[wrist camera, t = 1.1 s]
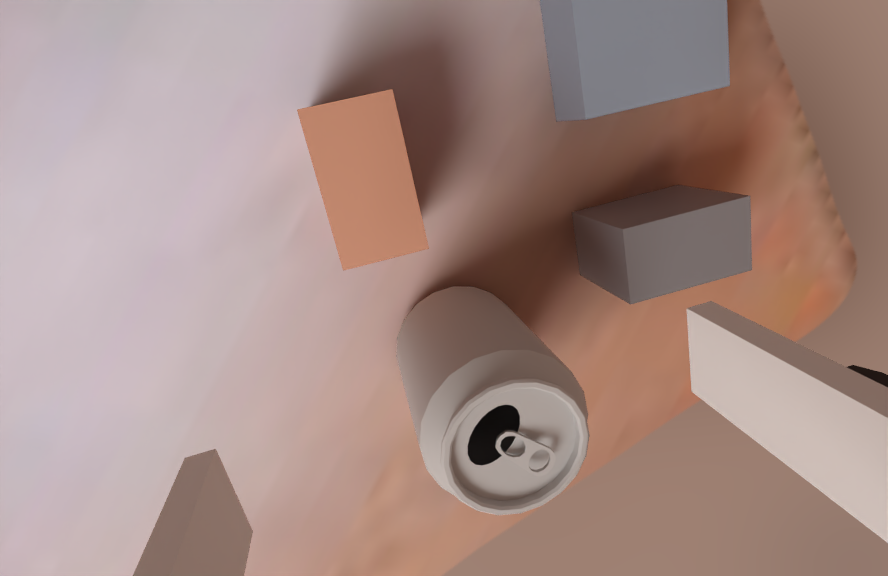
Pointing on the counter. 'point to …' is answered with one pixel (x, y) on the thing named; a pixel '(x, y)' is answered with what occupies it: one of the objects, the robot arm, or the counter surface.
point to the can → (490, 402)
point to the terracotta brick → (364, 178)
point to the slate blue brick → (632, 52)
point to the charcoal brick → (664, 241)
